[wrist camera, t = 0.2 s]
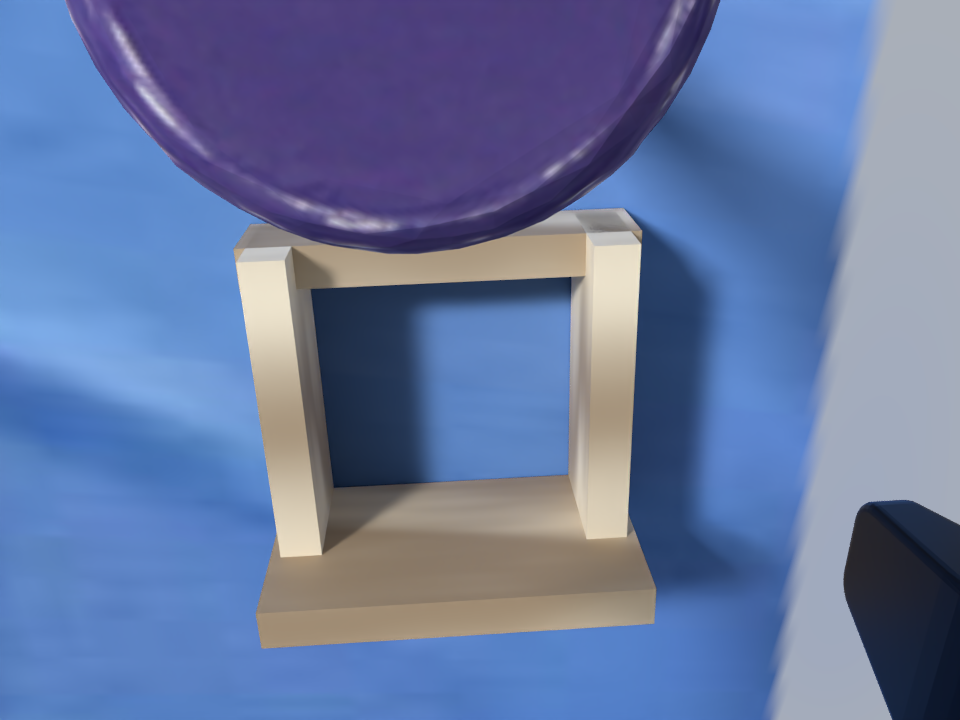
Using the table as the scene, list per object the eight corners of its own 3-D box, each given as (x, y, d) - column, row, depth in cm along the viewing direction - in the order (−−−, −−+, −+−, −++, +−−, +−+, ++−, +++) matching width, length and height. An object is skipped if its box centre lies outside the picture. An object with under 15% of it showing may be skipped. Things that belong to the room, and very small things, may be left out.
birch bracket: (611, 502, 25) (653, 623, 20) (292, 520, 24) (261, 648, 20) (623, 207, 21) (677, 274, 17) (249, 224, 21) (201, 296, 16)
